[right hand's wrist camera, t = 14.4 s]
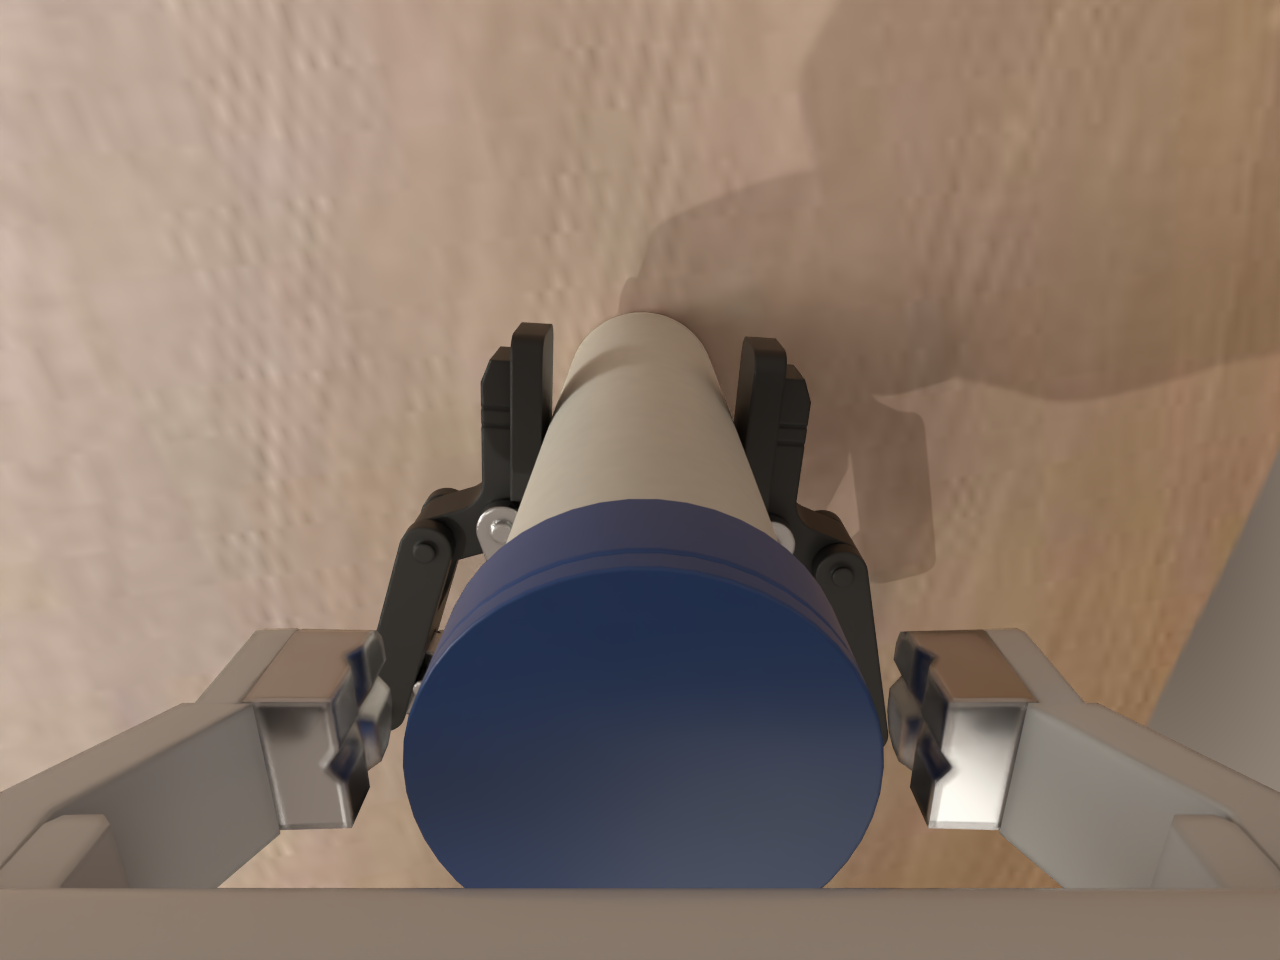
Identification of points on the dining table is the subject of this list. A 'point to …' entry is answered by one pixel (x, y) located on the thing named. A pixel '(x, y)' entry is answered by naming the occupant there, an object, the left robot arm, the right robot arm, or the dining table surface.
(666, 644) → the lid
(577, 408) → the white bottle
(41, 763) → the dining table surface
